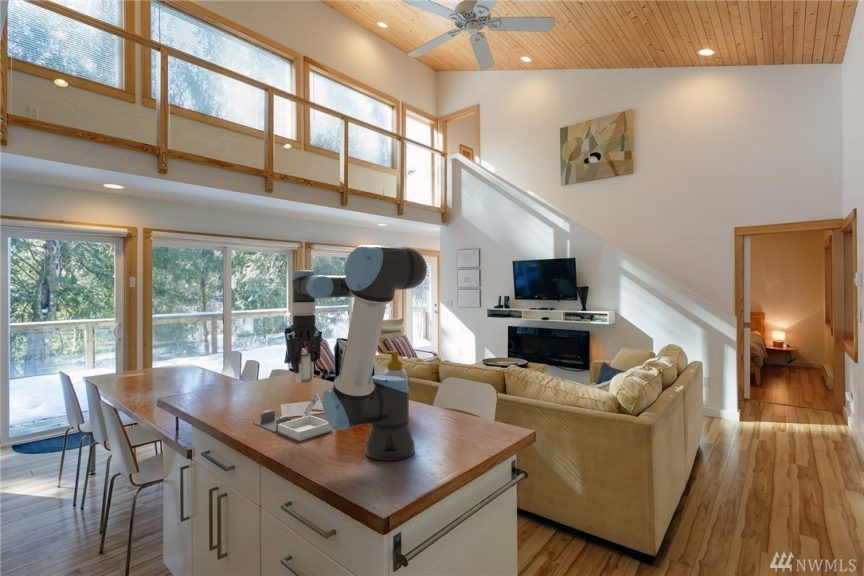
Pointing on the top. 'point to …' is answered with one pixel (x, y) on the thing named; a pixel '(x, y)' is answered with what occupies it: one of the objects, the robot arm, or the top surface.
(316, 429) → the parts tray
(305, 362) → the cylinder
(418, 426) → the top surface
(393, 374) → the soap bottle
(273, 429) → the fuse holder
